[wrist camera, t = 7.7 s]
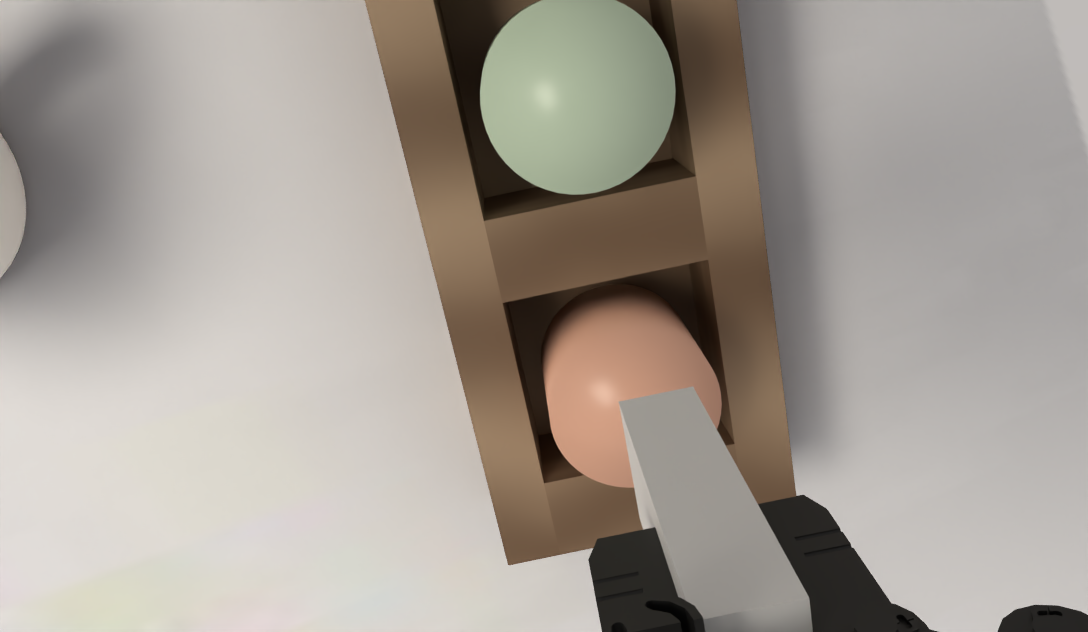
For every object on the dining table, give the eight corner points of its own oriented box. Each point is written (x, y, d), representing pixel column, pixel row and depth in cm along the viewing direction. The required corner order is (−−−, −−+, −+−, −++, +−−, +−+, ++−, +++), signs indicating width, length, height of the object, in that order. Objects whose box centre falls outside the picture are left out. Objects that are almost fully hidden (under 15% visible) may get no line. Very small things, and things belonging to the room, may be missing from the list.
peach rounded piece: (527, 301, 29) (533, 350, 24) (677, 270, 29) (709, 313, 24) (556, 436, 30) (567, 502, 26) (698, 406, 30) (731, 468, 26)
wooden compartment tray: (271, -444, 24) (230, -531, 20) (633, -524, 24) (661, -626, 20) (506, 503, 34) (508, 565, 30) (762, 450, 33) (797, 505, 30)
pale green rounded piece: (464, 16, 26) (460, 16, 22) (631, -20, 26) (659, -27, 22) (501, 182, 27) (503, 212, 23) (658, 148, 27) (688, 173, 23)
